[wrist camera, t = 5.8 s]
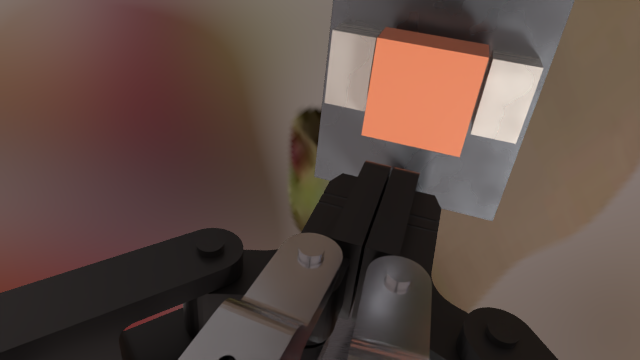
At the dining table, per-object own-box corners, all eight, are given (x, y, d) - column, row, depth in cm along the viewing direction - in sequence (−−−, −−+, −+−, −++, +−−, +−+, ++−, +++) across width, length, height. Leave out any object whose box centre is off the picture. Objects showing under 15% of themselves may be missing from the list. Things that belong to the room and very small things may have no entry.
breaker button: (395, 15, 22) (377, 37, 19) (488, 31, 21) (489, 57, 18) (380, 100, 25) (361, 135, 21) (463, 118, 24) (459, 157, 20)
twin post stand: (361, -131, 21) (178, -182, 9) (600, -105, 19) (814, -125, 6) (325, 169, 29) (207, 362, 17) (487, 209, 27) (487, 461, 15)
